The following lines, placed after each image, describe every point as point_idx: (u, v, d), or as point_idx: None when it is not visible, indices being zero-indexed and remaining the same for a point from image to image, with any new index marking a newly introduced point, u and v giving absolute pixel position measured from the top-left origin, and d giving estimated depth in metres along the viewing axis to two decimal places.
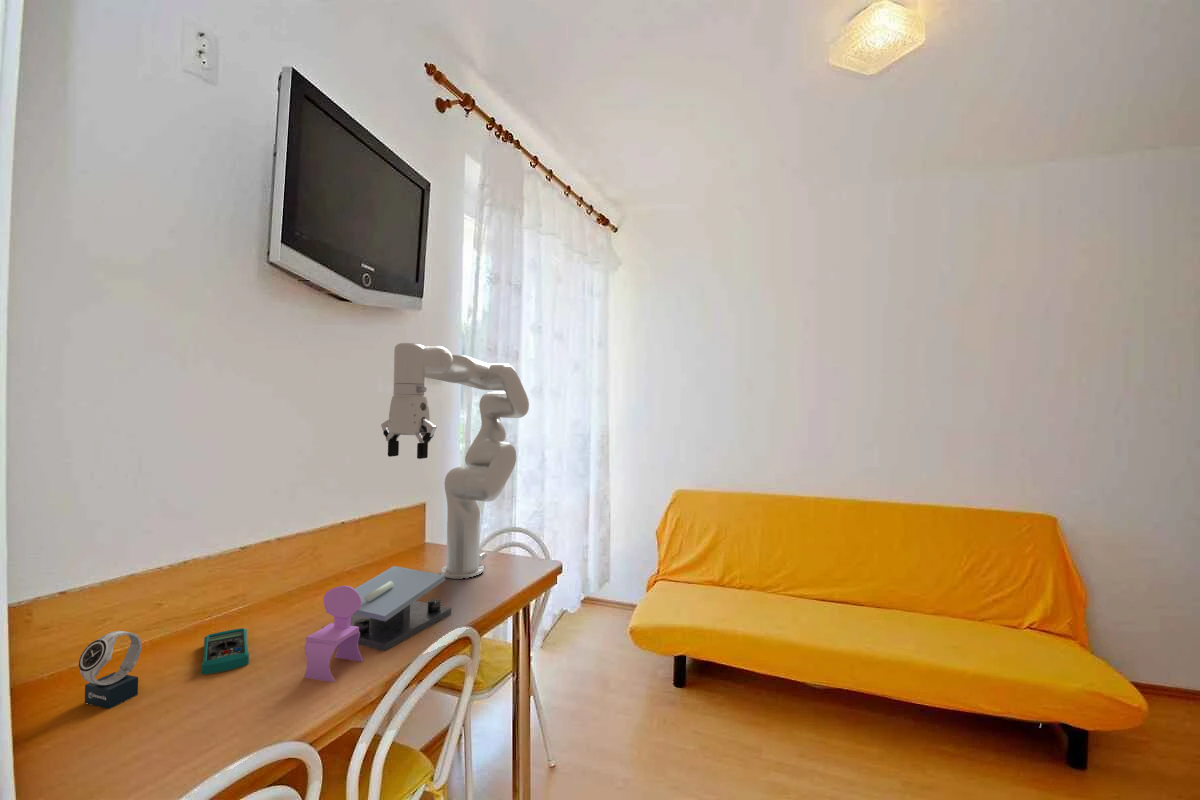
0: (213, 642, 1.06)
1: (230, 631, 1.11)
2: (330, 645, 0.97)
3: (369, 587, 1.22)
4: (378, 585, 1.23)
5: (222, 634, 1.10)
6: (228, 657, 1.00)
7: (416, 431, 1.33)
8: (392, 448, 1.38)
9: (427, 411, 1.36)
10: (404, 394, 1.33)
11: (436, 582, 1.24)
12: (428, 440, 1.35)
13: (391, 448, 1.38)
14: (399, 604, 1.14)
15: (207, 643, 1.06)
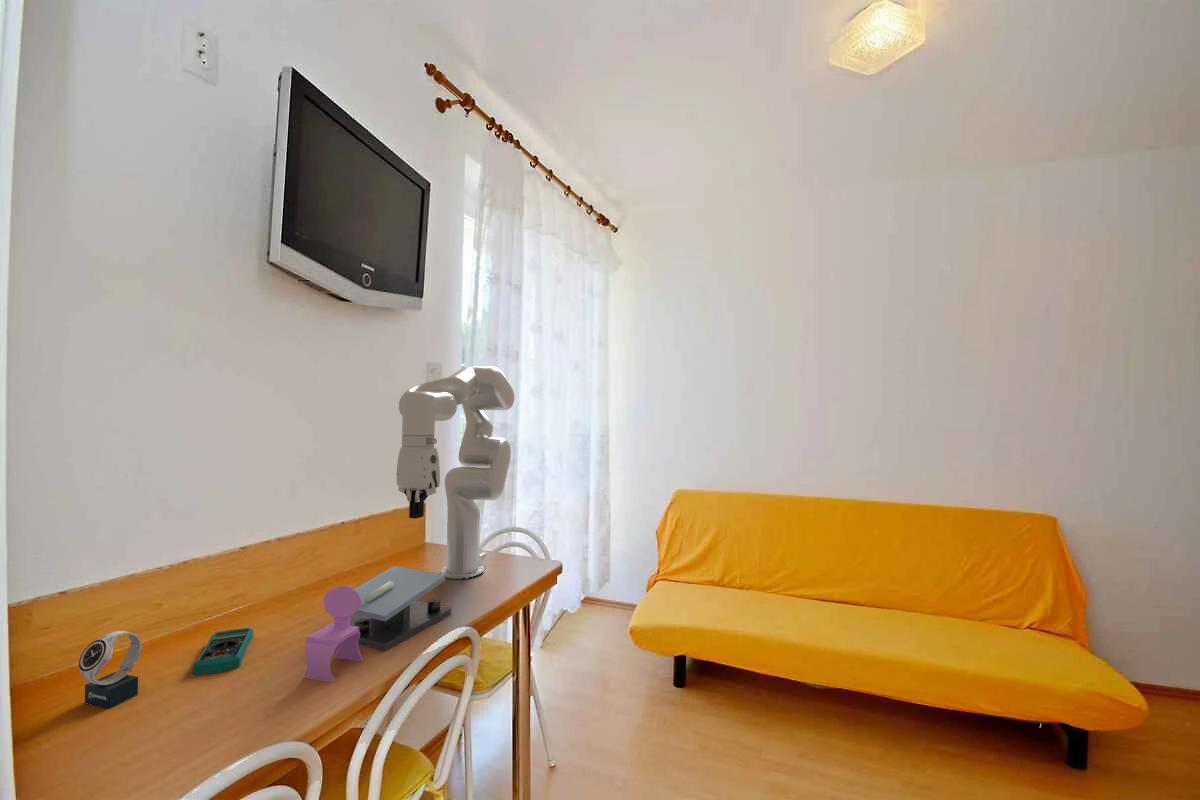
0: (215, 641, 1.07)
1: (236, 630, 1.12)
2: (330, 645, 0.97)
3: (369, 587, 1.22)
4: (378, 585, 1.23)
5: (228, 633, 1.11)
6: (219, 659, 0.99)
7: (426, 486, 1.25)
8: None
9: (437, 463, 1.28)
10: (413, 447, 1.25)
11: (436, 582, 1.24)
12: (424, 499, 1.28)
13: None
14: (399, 604, 1.14)
15: (210, 641, 1.06)
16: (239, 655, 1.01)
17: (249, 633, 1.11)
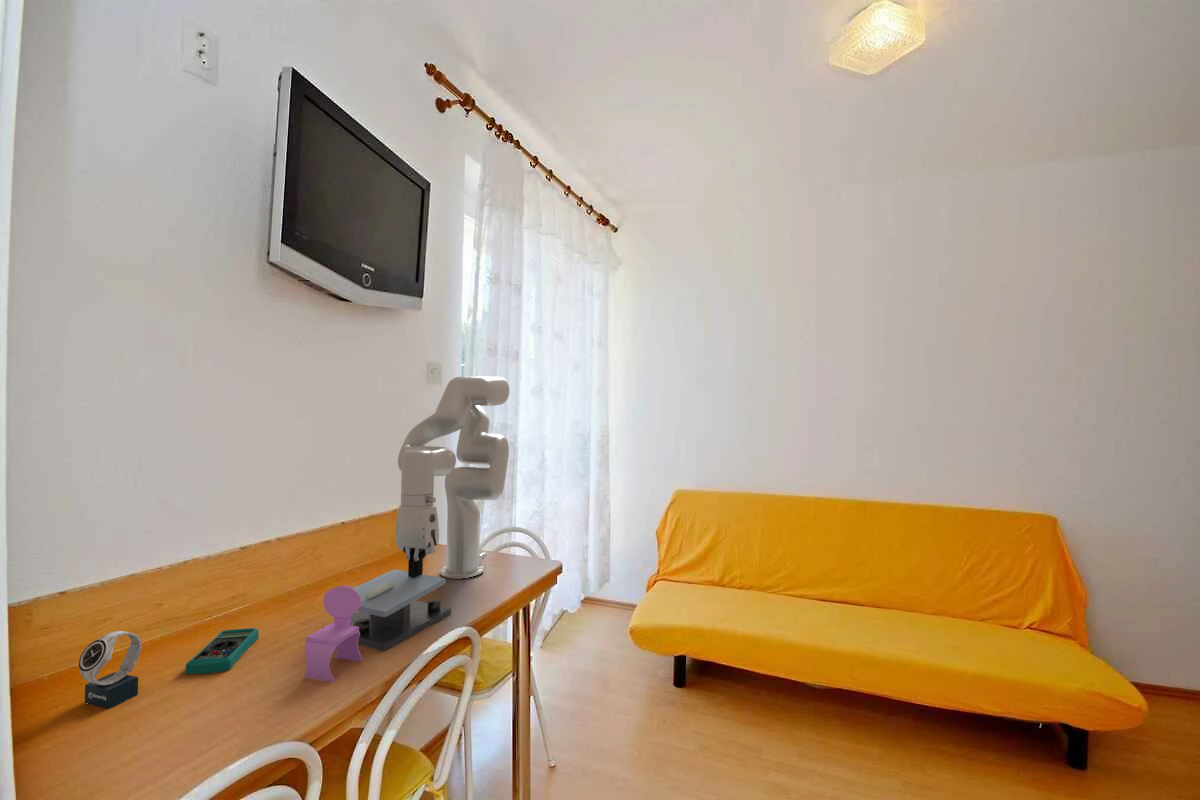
0: (218, 640, 1.07)
1: (242, 630, 1.12)
2: (330, 645, 0.97)
3: (369, 586, 1.22)
4: (378, 585, 1.23)
5: (235, 632, 1.11)
6: (210, 660, 0.99)
7: (425, 546, 1.25)
8: None
9: (436, 522, 1.28)
10: (412, 507, 1.25)
11: (436, 584, 1.24)
12: (423, 557, 1.28)
13: None
14: (399, 602, 1.14)
15: (213, 640, 1.07)
16: (230, 657, 1.00)
17: (252, 634, 1.11)
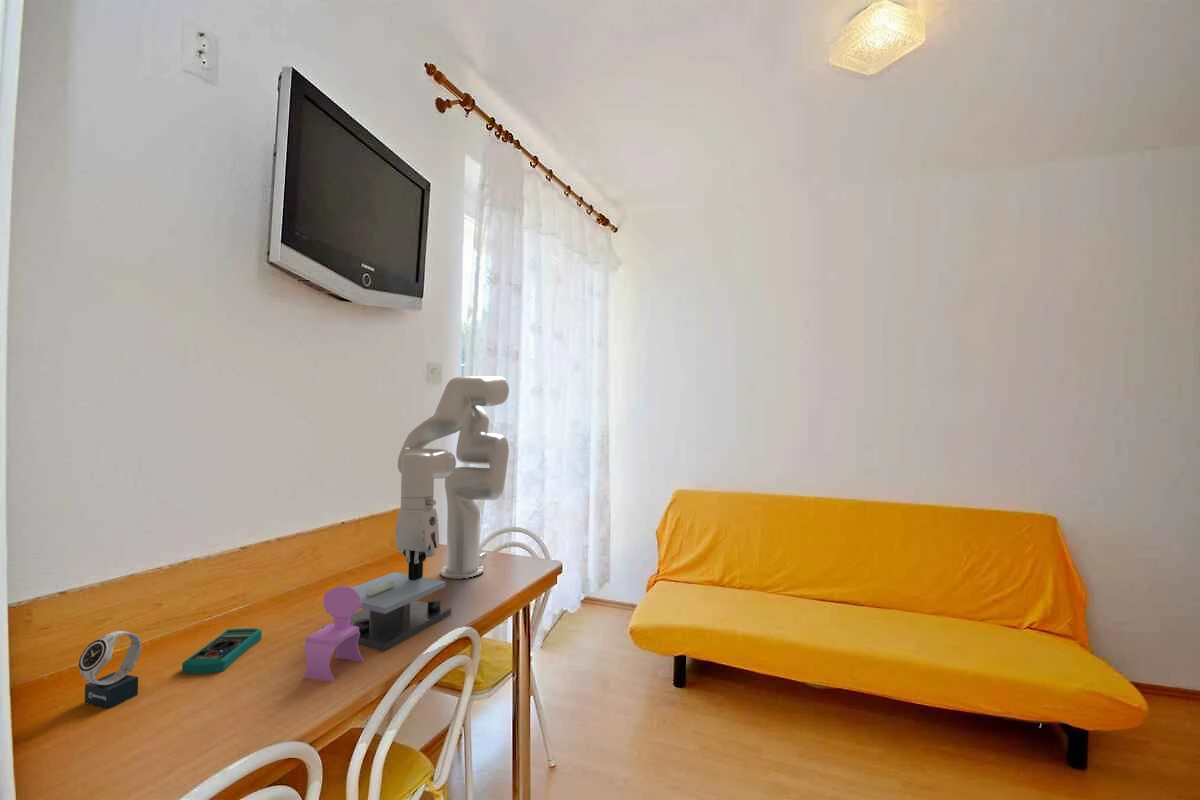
0: (220, 639, 1.08)
1: (246, 630, 1.12)
2: (330, 645, 0.97)
3: (370, 586, 1.22)
4: (379, 585, 1.23)
5: (238, 631, 1.12)
6: (204, 660, 0.99)
7: (425, 549, 1.25)
8: None
9: (436, 525, 1.28)
10: (412, 510, 1.25)
11: (437, 586, 1.24)
12: (423, 560, 1.28)
13: None
14: (400, 600, 1.14)
15: (215, 639, 1.08)
16: (225, 659, 1.00)
17: (254, 634, 1.10)
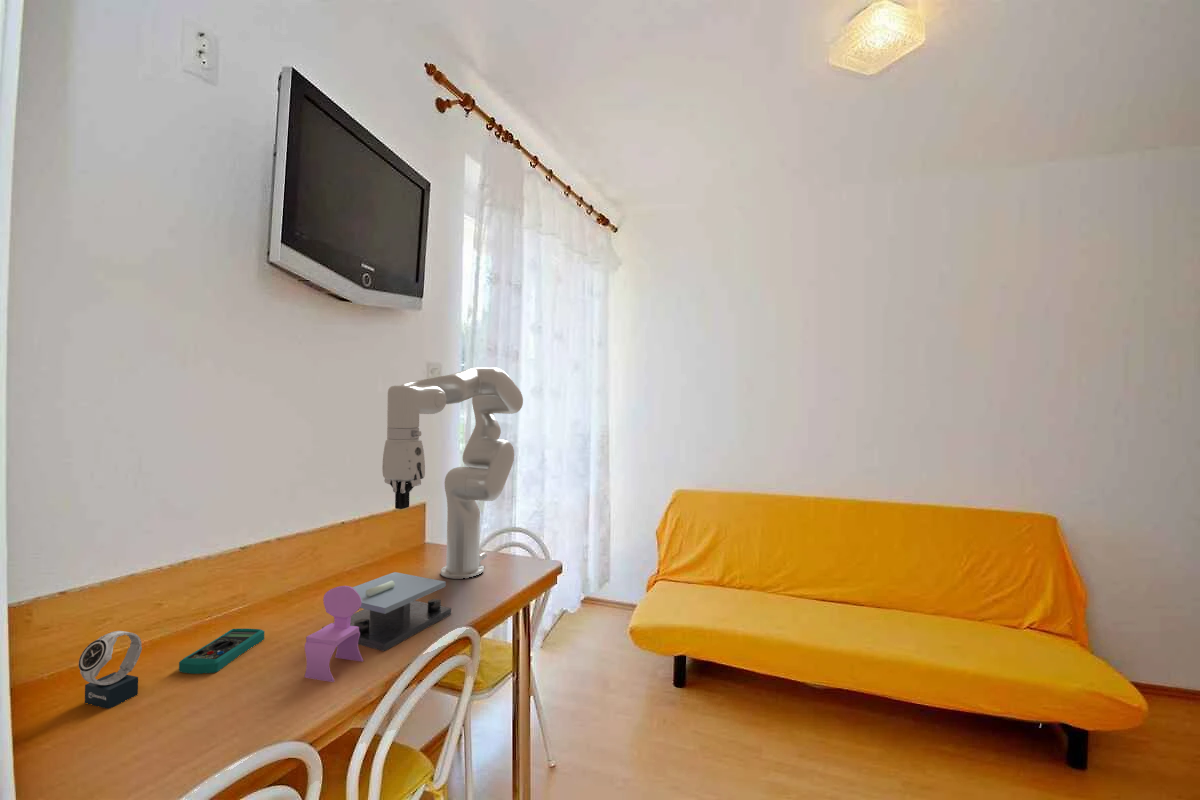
0: (223, 638, 1.08)
1: (249, 630, 1.12)
2: (330, 645, 0.97)
3: (370, 586, 1.22)
4: (379, 585, 1.23)
5: (242, 631, 1.12)
6: (199, 660, 0.99)
7: (411, 477, 1.29)
8: None
9: (422, 455, 1.32)
10: (398, 440, 1.28)
11: (437, 586, 1.24)
12: (409, 490, 1.32)
13: None
14: (400, 600, 1.14)
15: (218, 638, 1.08)
16: (219, 659, 1.00)
17: (255, 635, 1.10)
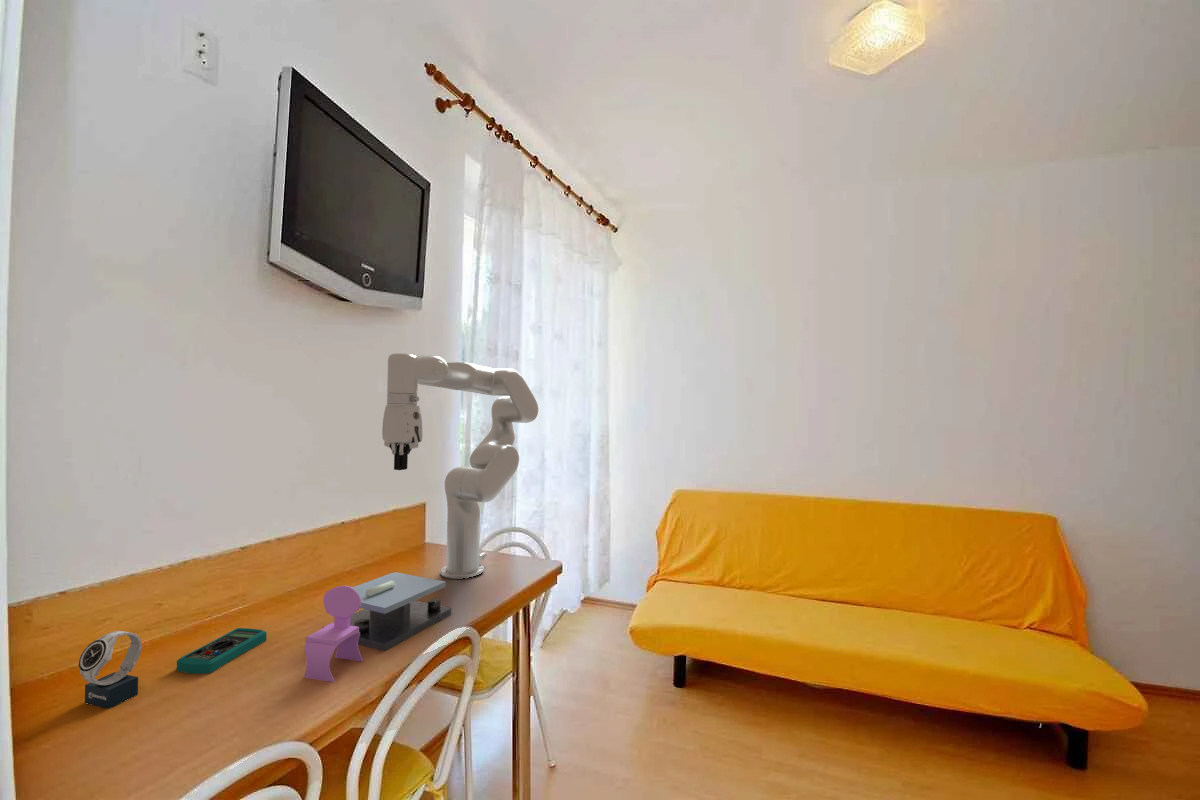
0: (225, 638, 1.08)
1: (252, 630, 1.12)
2: (330, 645, 0.97)
3: (370, 586, 1.22)
4: (379, 585, 1.23)
5: (246, 631, 1.12)
6: (195, 660, 0.99)
7: (409, 439, 1.37)
8: None
9: (420, 420, 1.40)
10: (397, 404, 1.36)
11: (437, 586, 1.24)
12: (408, 452, 1.40)
13: None
14: (400, 600, 1.14)
15: (221, 637, 1.08)
16: (213, 660, 0.99)
17: (256, 636, 1.09)
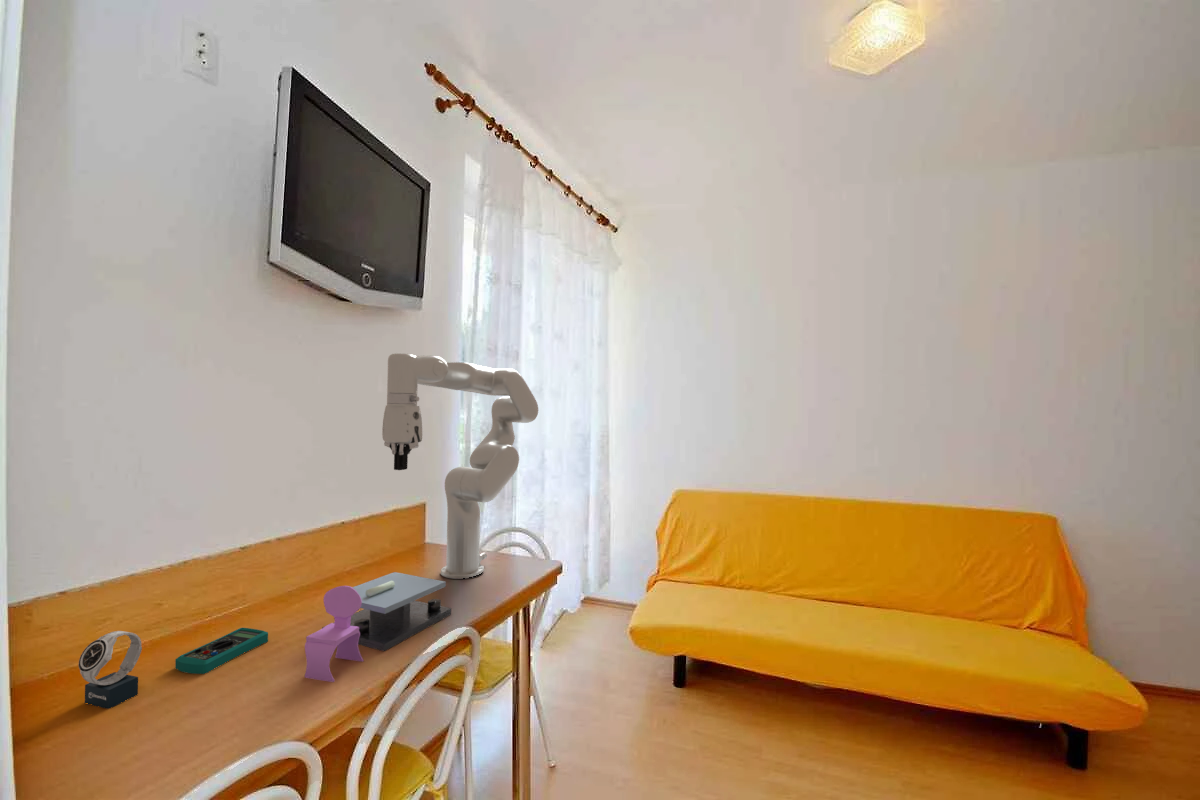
0: (227, 637, 1.09)
1: (255, 630, 1.12)
2: (330, 645, 0.97)
3: (370, 586, 1.22)
4: (379, 585, 1.23)
5: (249, 631, 1.12)
6: (191, 659, 0.99)
7: (409, 439, 1.37)
8: None
9: (420, 420, 1.40)
10: (397, 404, 1.36)
11: (437, 586, 1.24)
12: (408, 452, 1.40)
13: None
14: (400, 600, 1.14)
15: (223, 636, 1.09)
16: (209, 661, 0.99)
17: (256, 637, 1.09)
